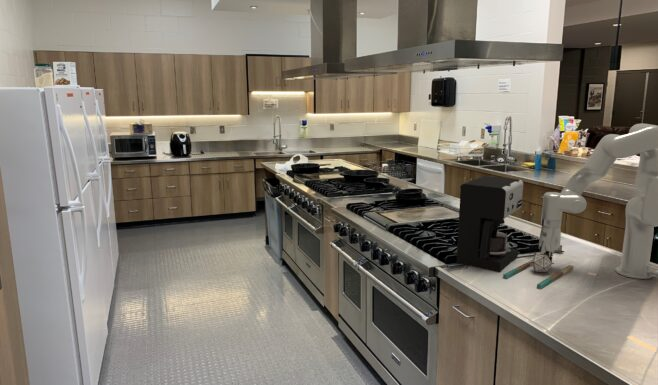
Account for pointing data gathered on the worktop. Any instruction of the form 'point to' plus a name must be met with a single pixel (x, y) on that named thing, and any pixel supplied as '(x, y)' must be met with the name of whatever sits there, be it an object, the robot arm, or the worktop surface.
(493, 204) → the coffee maker
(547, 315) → the worktop surface
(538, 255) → the game die
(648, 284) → the worktop surface
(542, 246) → the robot arm
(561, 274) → the pair of wooden rods
